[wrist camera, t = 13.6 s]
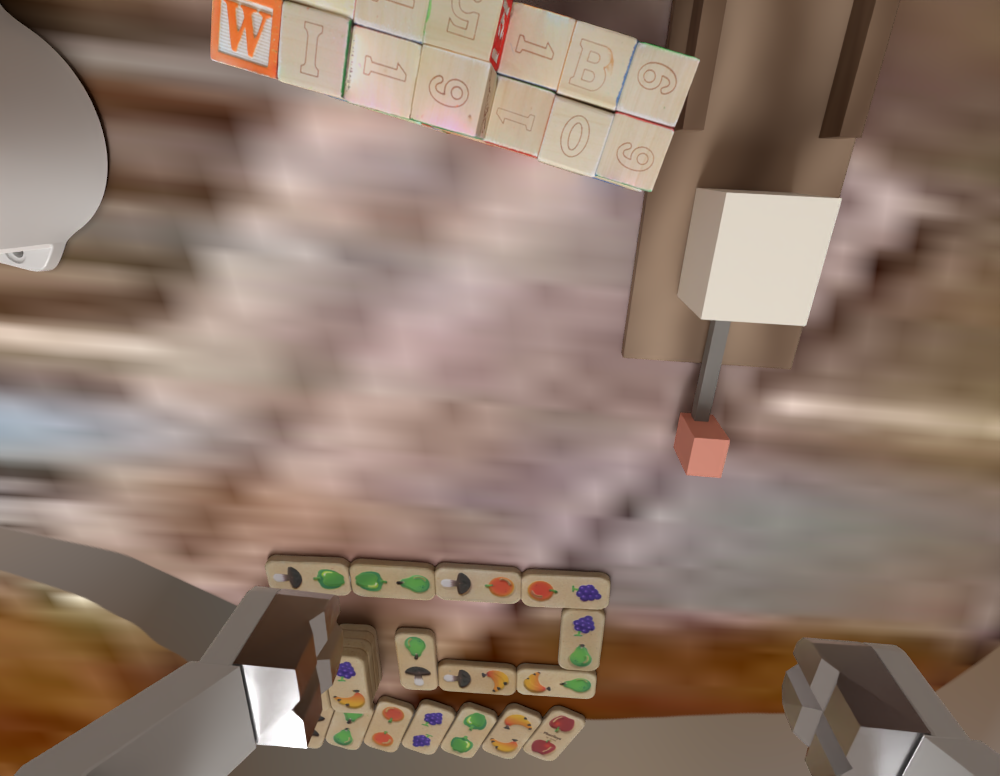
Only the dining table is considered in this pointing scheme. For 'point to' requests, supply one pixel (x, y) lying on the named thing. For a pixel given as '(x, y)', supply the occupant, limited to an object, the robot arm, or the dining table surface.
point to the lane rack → (751, 145)
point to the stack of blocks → (475, 74)
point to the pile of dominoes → (432, 722)
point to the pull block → (745, 287)
